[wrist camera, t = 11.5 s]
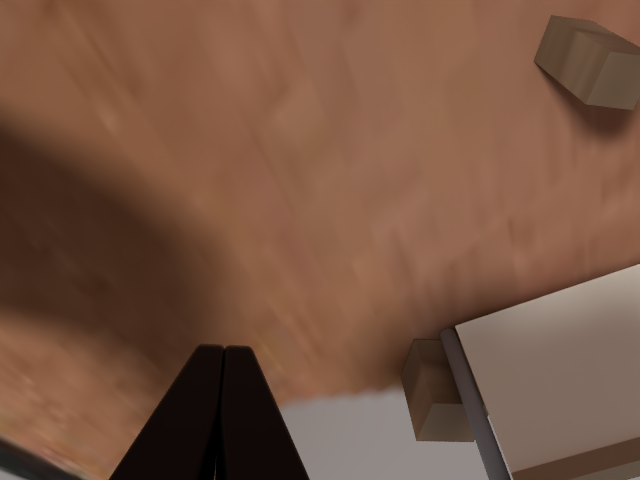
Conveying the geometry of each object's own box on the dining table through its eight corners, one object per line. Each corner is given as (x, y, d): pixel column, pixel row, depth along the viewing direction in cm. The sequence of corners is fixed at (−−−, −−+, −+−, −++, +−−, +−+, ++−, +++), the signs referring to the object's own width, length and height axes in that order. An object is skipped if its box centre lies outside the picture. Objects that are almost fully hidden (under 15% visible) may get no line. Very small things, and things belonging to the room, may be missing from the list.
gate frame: (400, 376, 30) (416, 441, 26) (532, 12, 18) (587, 48, 15) (452, 378, 30) (473, 442, 27) (611, 24, 19) (681, 61, 16)
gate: (436, 329, 27) (495, 499, 20) (724, 232, 25) (905, 387, 18) (442, 343, 28) (501, 513, 21) (723, 250, 25) (897, 407, 18)
